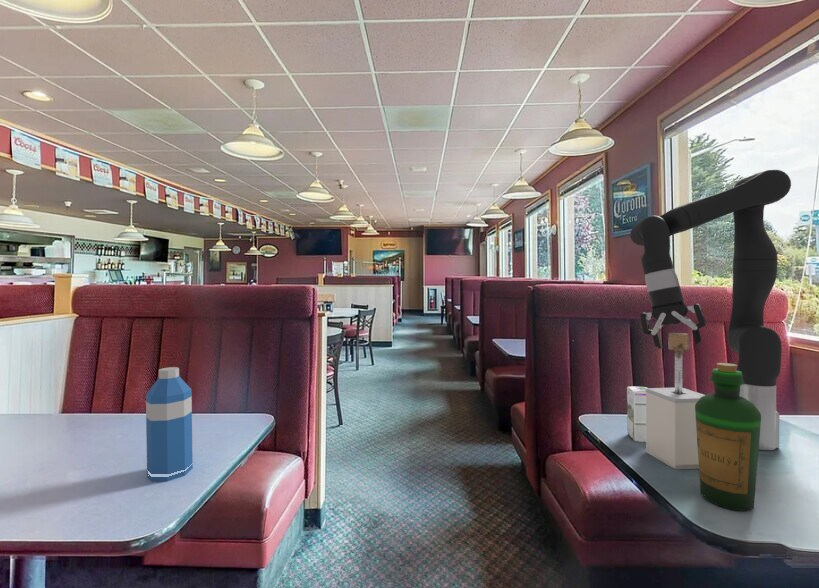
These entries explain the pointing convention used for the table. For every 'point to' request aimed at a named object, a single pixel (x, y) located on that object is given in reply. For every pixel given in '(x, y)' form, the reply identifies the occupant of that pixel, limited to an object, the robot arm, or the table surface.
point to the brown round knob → (678, 355)
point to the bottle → (727, 441)
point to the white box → (672, 427)
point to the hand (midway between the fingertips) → (678, 346)
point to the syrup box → (636, 413)
